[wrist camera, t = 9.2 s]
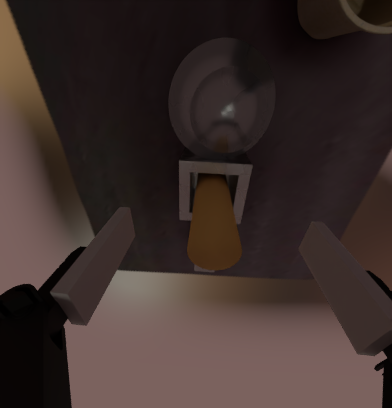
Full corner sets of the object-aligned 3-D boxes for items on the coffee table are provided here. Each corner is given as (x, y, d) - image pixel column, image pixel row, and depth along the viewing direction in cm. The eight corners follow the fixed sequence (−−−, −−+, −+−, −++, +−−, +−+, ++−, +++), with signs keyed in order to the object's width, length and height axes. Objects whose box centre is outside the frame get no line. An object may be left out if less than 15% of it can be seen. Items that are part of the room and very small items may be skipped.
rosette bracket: (229, 241, 32) (242, 326, 20) (180, 237, 32) (164, 319, 20) (263, 59, 19) (361, -12, 7) (179, 55, 19) (129, -18, 7)
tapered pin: (195, 164, 23) (181, 235, 11) (222, 158, 22) (238, 227, 10) (201, 188, 25) (194, 272, 13) (226, 184, 24) (244, 267, 12)
